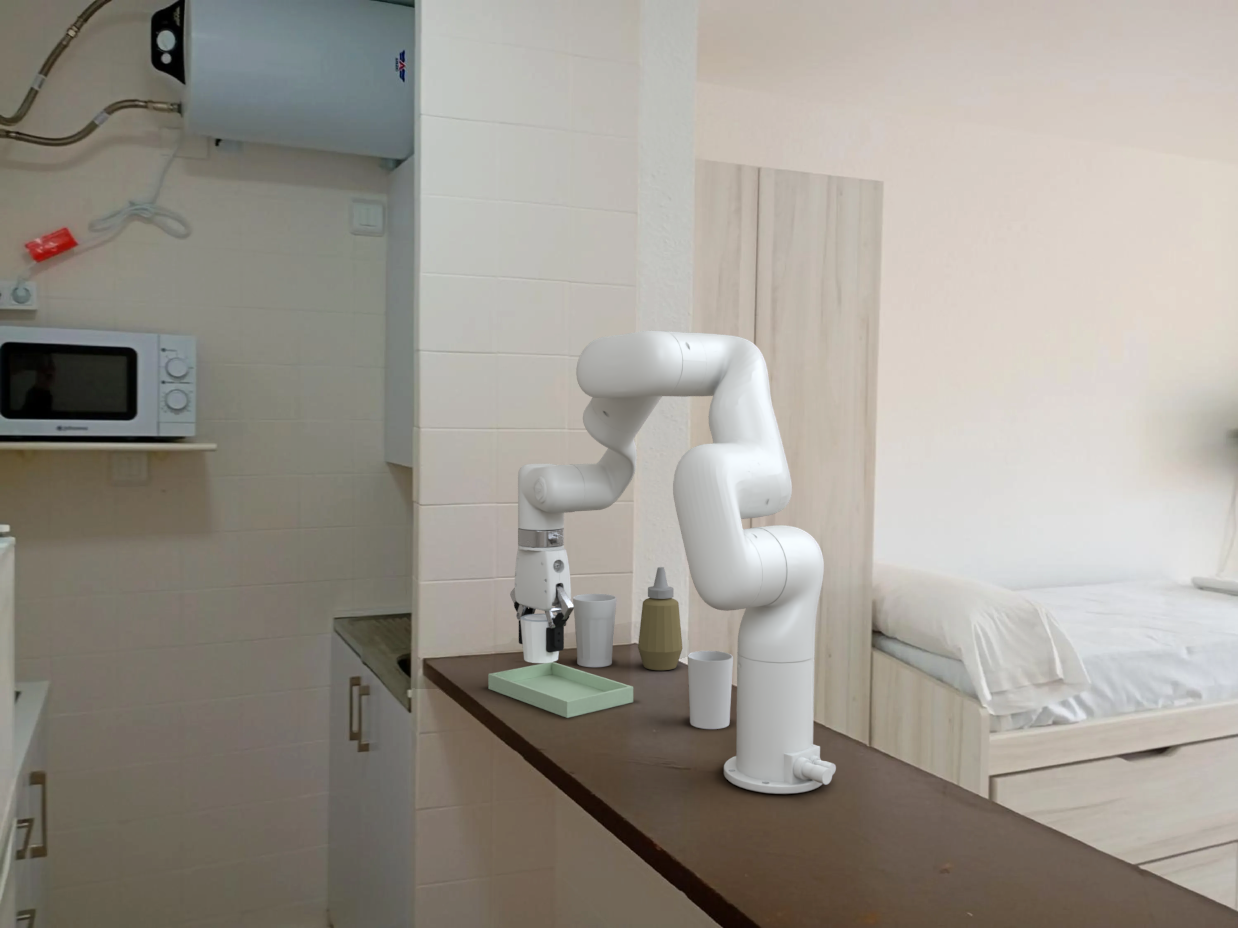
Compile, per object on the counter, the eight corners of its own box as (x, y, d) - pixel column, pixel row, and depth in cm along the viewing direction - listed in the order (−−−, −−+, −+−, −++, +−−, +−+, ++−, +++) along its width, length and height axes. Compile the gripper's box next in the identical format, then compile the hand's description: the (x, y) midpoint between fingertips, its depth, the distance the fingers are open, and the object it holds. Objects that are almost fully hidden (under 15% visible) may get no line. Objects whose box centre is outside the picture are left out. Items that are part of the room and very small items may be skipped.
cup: (618, 658, 192) (618, 594, 191) (613, 668, 184) (614, 602, 183) (575, 657, 192) (576, 593, 192) (569, 667, 184) (569, 600, 184)
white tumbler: (740, 727, 150) (741, 659, 149) (698, 731, 148) (699, 662, 147) (720, 714, 156) (720, 649, 156) (680, 718, 154) (680, 652, 153)
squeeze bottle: (653, 659, 191) (654, 562, 190) (691, 666, 186) (692, 566, 185) (628, 668, 184) (629, 568, 183) (666, 675, 179) (667, 572, 178)
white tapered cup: (560, 664, 166) (560, 621, 166) (517, 663, 167) (517, 620, 166) (563, 654, 173) (563, 612, 173) (522, 653, 173) (522, 612, 173)
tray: (633, 702, 163) (633, 686, 163) (567, 718, 154) (567, 701, 154) (552, 675, 179) (552, 661, 179) (488, 688, 170) (488, 673, 170)
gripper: (592, 542, 165) (591, 653, 166) (528, 532, 178) (528, 634, 179) (554, 546, 160) (554, 660, 161) (492, 535, 173) (492, 641, 174)
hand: (540, 646), depth 170 cm, fingers closed on white tapered cup, 6 cm apart
